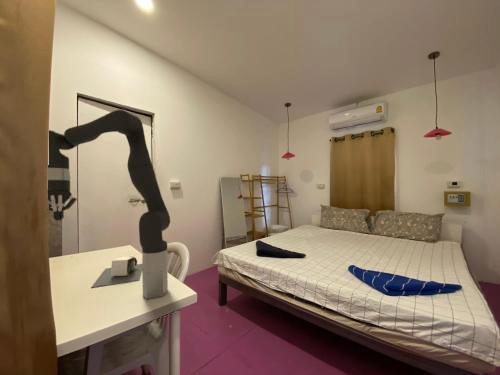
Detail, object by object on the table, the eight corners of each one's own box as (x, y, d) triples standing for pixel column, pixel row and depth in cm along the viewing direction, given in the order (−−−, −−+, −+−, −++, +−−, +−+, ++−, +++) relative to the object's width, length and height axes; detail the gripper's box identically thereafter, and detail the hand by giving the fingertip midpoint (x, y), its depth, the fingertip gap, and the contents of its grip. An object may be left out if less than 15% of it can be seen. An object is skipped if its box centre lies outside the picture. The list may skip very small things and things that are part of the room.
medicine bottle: (127, 260, 98) (139, 255, 110) (111, 260, 98) (125, 255, 110) (126, 275, 97) (138, 269, 109) (110, 276, 97) (124, 269, 109)
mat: (139, 280, 95) (139, 279, 95) (91, 287, 88) (91, 287, 88) (143, 264, 116) (143, 263, 116) (105, 269, 109) (105, 268, 109)
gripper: (32, 178, 82) (33, 222, 82) (74, 179, 87) (74, 220, 87) (43, 179, 89) (43, 219, 89) (80, 179, 94) (81, 217, 94)
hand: (58, 220), depth 88 cm, fingers closed
